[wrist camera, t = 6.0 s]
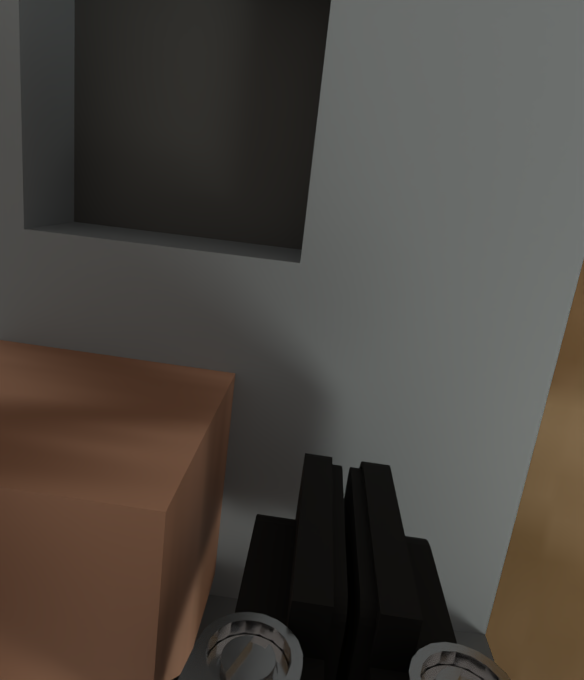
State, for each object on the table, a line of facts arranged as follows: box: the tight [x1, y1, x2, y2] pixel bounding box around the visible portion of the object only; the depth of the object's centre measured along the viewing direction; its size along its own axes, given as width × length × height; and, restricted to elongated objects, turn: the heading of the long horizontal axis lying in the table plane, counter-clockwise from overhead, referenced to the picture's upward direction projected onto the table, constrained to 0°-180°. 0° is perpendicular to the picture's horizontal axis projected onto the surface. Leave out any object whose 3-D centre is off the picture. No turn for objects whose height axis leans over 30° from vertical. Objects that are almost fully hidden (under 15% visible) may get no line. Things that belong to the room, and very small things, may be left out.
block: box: [0, 340, 235, 680], centre depth 10 cm, size 5×5×5 cm
